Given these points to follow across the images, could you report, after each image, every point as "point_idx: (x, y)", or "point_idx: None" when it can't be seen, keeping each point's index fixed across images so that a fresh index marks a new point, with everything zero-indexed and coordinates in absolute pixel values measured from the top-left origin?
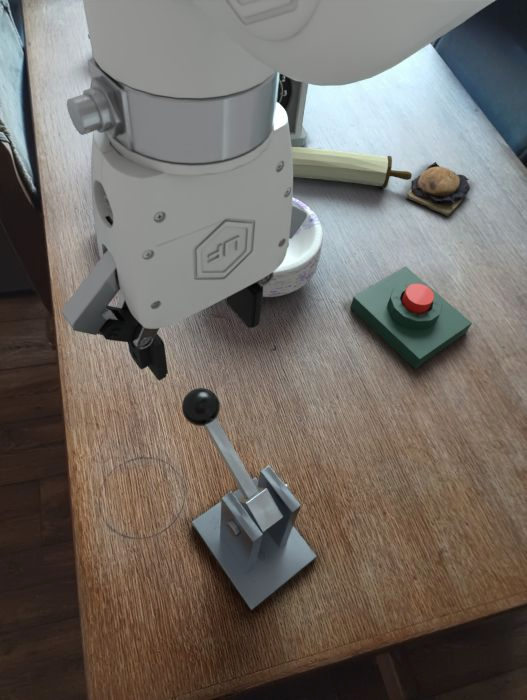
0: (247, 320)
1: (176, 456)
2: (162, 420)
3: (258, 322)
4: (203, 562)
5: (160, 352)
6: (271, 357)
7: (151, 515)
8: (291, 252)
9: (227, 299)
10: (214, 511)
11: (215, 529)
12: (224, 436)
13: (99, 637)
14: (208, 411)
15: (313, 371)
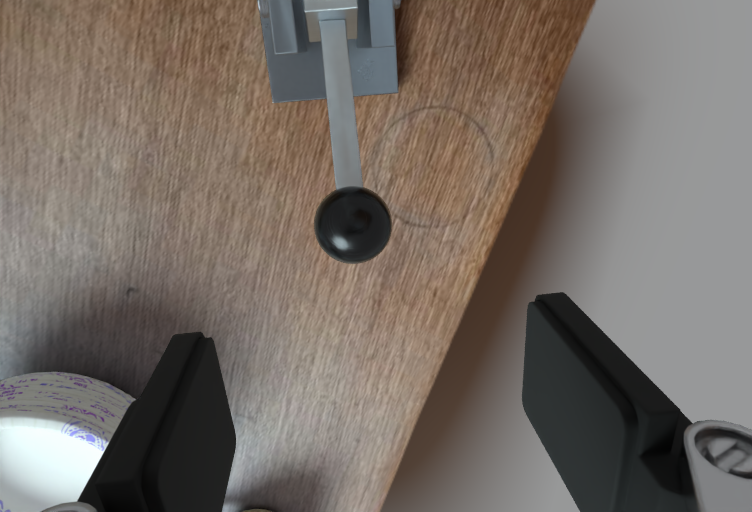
0: (208, 364)
1: None
2: None
3: (173, 343)
4: (408, 29)
5: (628, 379)
6: (143, 278)
7: (437, 137)
8: (8, 441)
9: (231, 453)
10: (360, 87)
11: (372, 60)
12: (337, 148)
13: (576, 19)
14: (353, 204)
15: (81, 224)
